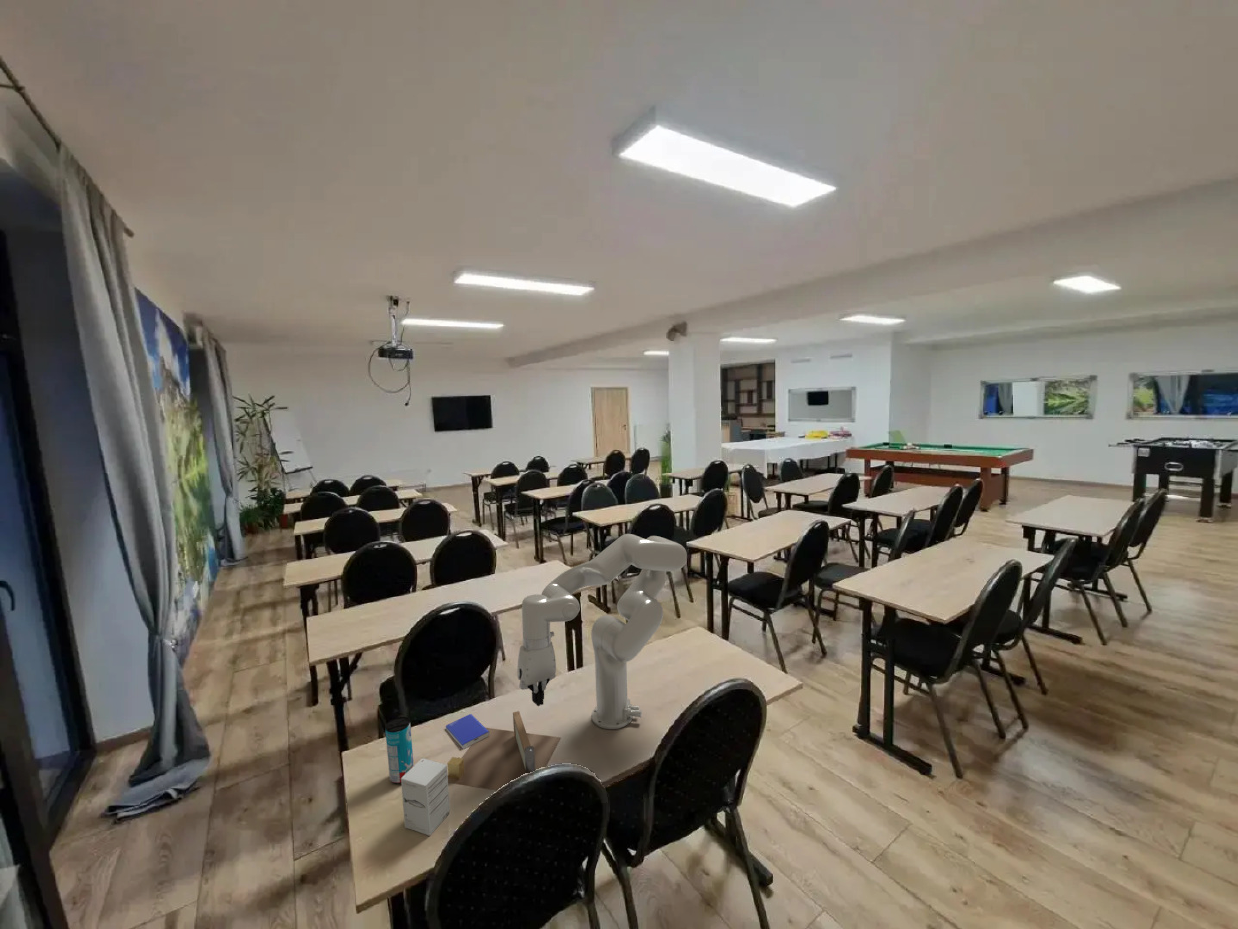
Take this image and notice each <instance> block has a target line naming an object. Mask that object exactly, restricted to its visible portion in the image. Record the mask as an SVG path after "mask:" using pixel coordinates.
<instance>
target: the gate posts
mask: <svg viewBox="0 0 1238 929" xmlns="http://www.w3.org/2000/svg"><path fill="white" fill-rule="evenodd" d="M446 765H447V775H448V778H454V779H460V778H461V777H462V776H463V774H464V759H462V757H457V756H456V757H454V756H452V757H451V758H450V759H449V761H448V762H447V763H446ZM525 767H526V773H530V772H533V771H535V755H534V747H533V746H528V747H526V748H525Z"/></svg>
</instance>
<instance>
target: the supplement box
mask: <svg viewBox="0 0 1238 929" xmlns="http://www.w3.org/2000/svg"><path fill="white" fill-rule="evenodd" d="M400 785H401V794H402V795H401V798H402V807H403V821H404V828H405V829H409V830H413V831H416V832H418V833H421V834H423V835H425V836H431V835H432V834H433V833H434V832H435V831H436V829H437V828H438V827H439V826H440V825H441V824H442V822H443V821H444V820H445V819H446V817H447V816H448V815H449V814H450V811H451V810H450V809H451V808H450V795H449V794H450V792H449V783H448V765H447V763H442V762H438V761H434V760H430V759H427V758H424V757H423V758H421V759H419V760H418V761H417V762H416V763H415V764H414V766H413V767H412V768H411V769H410V770H409V771H408V772H407V773H406V774H405V775H404V776H403V777H402V778H401V784H400Z"/></svg>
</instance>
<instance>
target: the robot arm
mask: <svg viewBox="0 0 1238 929" xmlns="http://www.w3.org/2000/svg"><path fill="white" fill-rule="evenodd" d="M687 559H688V554H687V550H686V548H685V547H684V546H683V545H682V544H680V543H678V542H677V541H673V540H670V539H668V538H665V537H661V536H657V535H650V536H649V537H647V538H643V537H641V536H638V535H636V534H631V533H625V534H622V535H621V536H619V537H618V538H616V539H615V541H613V542H612V543H611V544H610V545H608V546H607V547H605V548H604V549H603V550H602V551H601V552H600V553H598V554H597V555H596V556H595V557H593V558H592V559H591V560H589V561H587V562H584V563H581V564H579V565H576V566H573V567H571V568H570V569H567V570H565V571H564V572H561V574H559V575H558V576H557V577H556V578H554V579H553V580H552V581H550V582H549V583H548V584H547V585H546V586H545V588H544V589H543V590H542V591H541V594H537V593H536V594H531V595H527V596H526V597H524V598H523V600H522V602H521V618H522V621H521V622H522V623H521V624H522V626H521V627H522V645H521V646H520V647H519V651H518V657H517V658H518V659H517V673H516V674H517V675H516V676H517V679H518V680H519V685H518V686H519V689H521V690H528V689H529V690H530V691H531V701H532V702H533V703H534V704H535V705H536V706H537V707H540V706H542V705H544V700H545V690H546V689H547V686H548V684H549V682H550V681H552V680H554V679H555V678H556V676H557V675H556V673H557V660H556V654H555V649H554V644H553V642H552V639H551V638H553V637H555V633H554V632H555V631H551V623H561V622H562V623H565V622H568V621H569V622H570V621H572V620H573V619H575V618H576V617H577V616H578V615H579V612H580V610H581V609H580V608H581V607H580V603H579V600H578V599H577V598H576V597H575V596H574V595H573V594H574V593H575V592H576V591H579V590H580V589H583V588H587V587H594V586H605V585H608V584H610V583H612V582H613V581H614V579H617V577H618V576H619V575H621V574H622V573H623V572H624V571H625V570H626V569H628V568H629V567H630V566H631V565H632V566H634V567H635V568H638V569H641V570H640V573H639V574H638V575H637V577H636V578H635V579H634V581H633V582H632V583H631V584H630V586H629V587H628V588H627V589H626V590H625V592H624V593H623V594H622V595H621V597H620V598H619V600H618V602H617V605H616V607H617V608H616V609H617V612H618V613H619V615H620V616H621V617H622V618H623V619H625V621H626V620H627V622H626V623H625V622H623V621H621V620H620V619H619V618H618V617H615V616H613V615H609V614H605V615H602V616H599V617H598V618H597V619H596V620H595V621H594V622H593V624H592V628H591V630H590V631H591V633H590V634H591V643H592V649H593V654H594V664H595V665H594V668H595V670H594V671H595V696H596V698H595V699H596V706H595V707H594V708H593V710H592V712H591V720H592V722H593V723H594V724H595V725H596V726H597V727H599V728H602V729H605V730H617V729H618V730H619V729H621V728H624V727H626V726H628V725H629V724H630V723H631V722H632V720H633V718H634V717H637V718H642V715H643V710H642V709H641V710H640V705H633V704H631V699H630V698H628V667H627V665H628V664H627V662H630V661H632V660H634V659H635V658H636V657H637V656H638V655H639V654H640V652H641V651H642V649H644V647H645V646H646V645H647V643H648V642H650V640H651V639H652V637H654V635H655V633H656V632H657V631H658V629H659V628H660V626H661V623H662V621H663V618H664V607H663V606H662V604H661V603H660V602H659V601H658V600H657V598H658V596H659V595H660V594H661V593H662V590H663V589H664V587H665V585H666V581H667V572H676V571H679V570H681V569H682V568H683V567H684V566H685V565H686V563H687V561H688V560H687Z"/></svg>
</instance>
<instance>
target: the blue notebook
mask: <svg viewBox="0 0 1238 929" xmlns="http://www.w3.org/2000/svg"><path fill="white" fill-rule="evenodd" d="M486 728H487V727H485V726H484V725H483V724H482V723H481V722H480V720H478V719H477V718H476V717H475V716H474V715H473V714H472V713H469V714H467V715H465V716H463V717H461V718H459V719H457V720H454V721H453V722H450V723H448V724H446V725H445V729H446V732H448V733H449V734H450V735H451V737H452V738H453V739H454V741H456V743H457V744H458V745H459V746H460V747H461V748H462V749H463V750H465V749H467V748H470V746H471V745H473V744H475V743H476V742H478V741H480V740H482V739H484V738H486V737H488V736H489V735H490V733H489V731H488V730H487V729H486Z"/></svg>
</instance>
